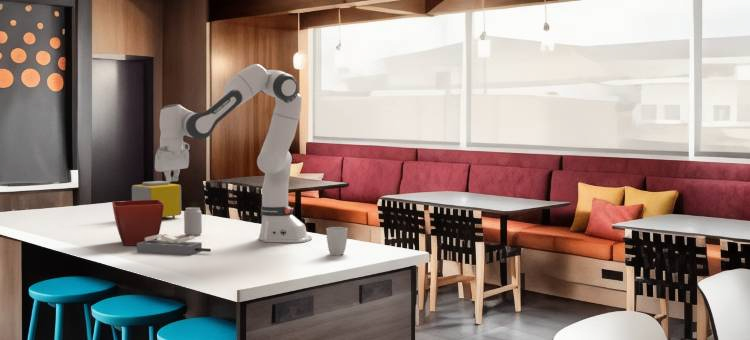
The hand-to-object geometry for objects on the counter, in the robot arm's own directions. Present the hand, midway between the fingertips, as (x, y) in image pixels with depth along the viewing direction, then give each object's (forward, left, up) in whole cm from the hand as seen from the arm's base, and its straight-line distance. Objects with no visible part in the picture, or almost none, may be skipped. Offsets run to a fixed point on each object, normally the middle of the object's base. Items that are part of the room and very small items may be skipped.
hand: (172, 181), depth 334 cm
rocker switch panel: (-3, +3, -27) cm, 27 cm away
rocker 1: (+7, +3, -22) cm, 23 cm away
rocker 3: (-7, +3, -22) cm, 23 cm away
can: (+12, -38, -27) cm, 48 cm away
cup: (-64, -11, -27) cm, 70 cm away
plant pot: (+23, -12, -27) cm, 38 cm away
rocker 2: (0, +3, -22) cm, 22 cm away
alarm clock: (+55, -80, -27) cm, 101 cm away
